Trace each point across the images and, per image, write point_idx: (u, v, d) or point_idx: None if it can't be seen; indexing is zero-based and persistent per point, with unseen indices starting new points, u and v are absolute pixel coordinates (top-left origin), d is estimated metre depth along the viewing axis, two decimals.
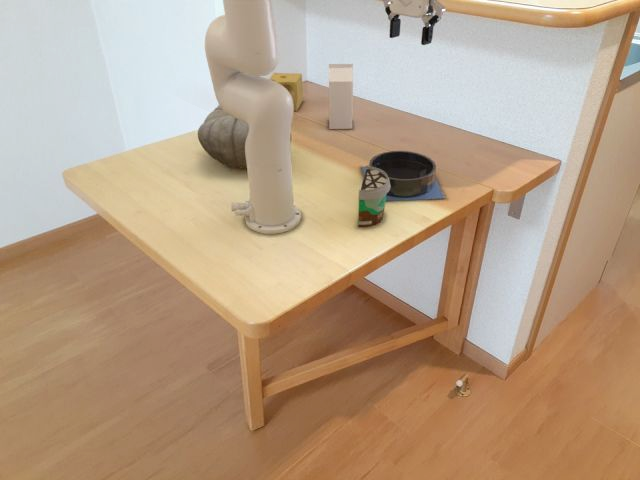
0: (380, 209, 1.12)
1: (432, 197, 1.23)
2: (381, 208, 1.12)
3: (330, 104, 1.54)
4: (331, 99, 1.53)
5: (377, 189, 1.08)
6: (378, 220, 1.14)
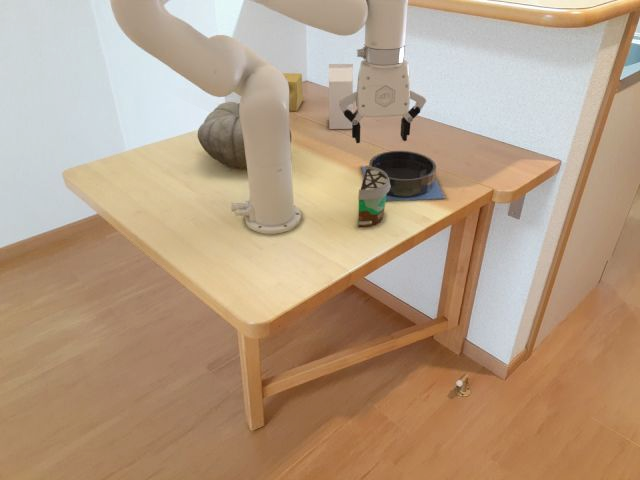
0: (380, 209, 1.12)
1: (432, 197, 1.23)
2: (381, 208, 1.12)
3: (330, 104, 1.54)
4: (331, 99, 1.53)
5: (377, 189, 1.08)
6: (378, 220, 1.14)
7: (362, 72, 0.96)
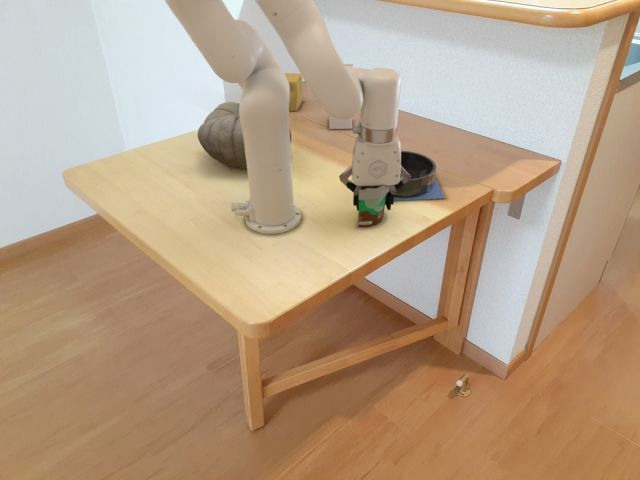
0: (380, 209, 1.12)
1: (432, 197, 1.23)
2: (381, 208, 1.12)
3: None
4: None
5: (377, 189, 1.08)
6: (378, 220, 1.14)
7: (357, 147, 1.05)
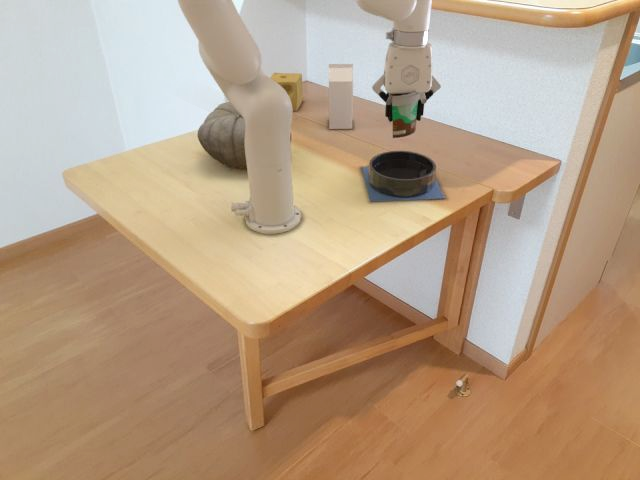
0: (413, 118, 1.15)
1: (432, 197, 1.23)
2: (414, 117, 1.16)
3: (330, 104, 1.54)
4: (331, 99, 1.53)
5: (409, 95, 1.11)
6: (411, 130, 1.17)
7: (390, 52, 1.08)
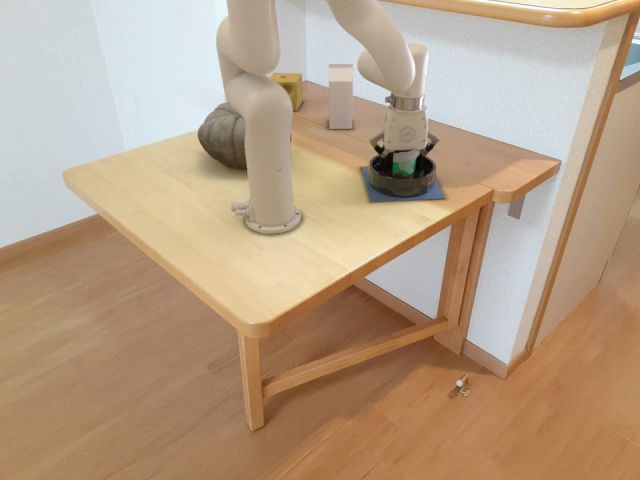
0: (411, 171, 1.25)
1: (432, 197, 1.23)
2: (412, 171, 1.25)
3: (330, 104, 1.54)
4: (331, 99, 1.53)
5: (409, 152, 1.21)
6: None
7: (389, 115, 1.18)
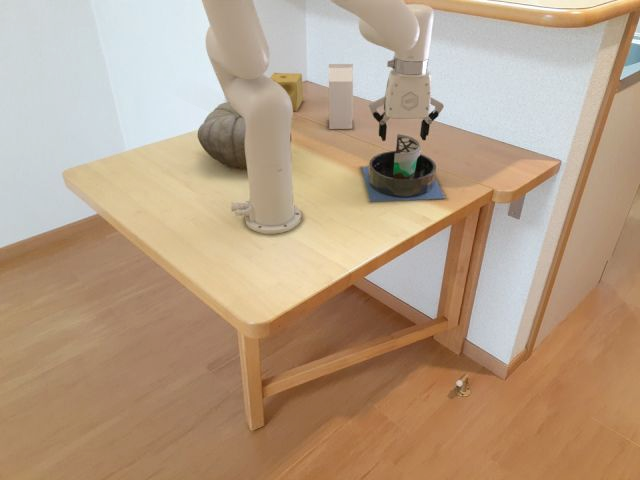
0: (412, 172, 1.25)
1: (432, 197, 1.23)
2: (413, 171, 1.26)
3: (330, 104, 1.54)
4: (331, 99, 1.53)
5: (410, 153, 1.21)
6: None
7: (391, 80, 1.13)
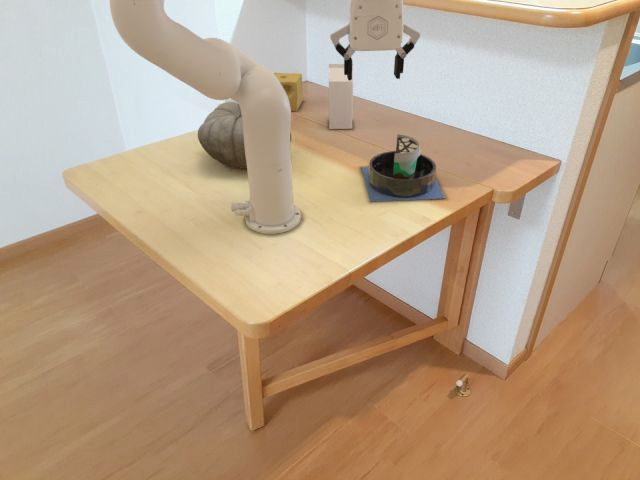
0: (412, 172, 1.25)
1: (432, 197, 1.23)
2: (412, 171, 1.26)
3: (330, 104, 1.54)
4: (331, 99, 1.53)
5: (410, 153, 1.21)
6: None
7: (354, 1, 0.93)
